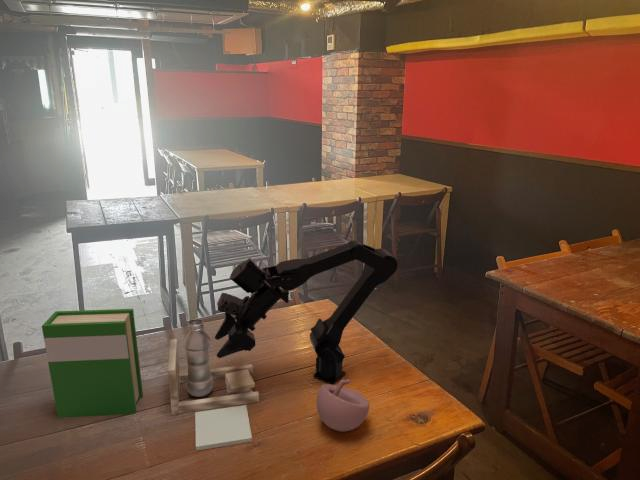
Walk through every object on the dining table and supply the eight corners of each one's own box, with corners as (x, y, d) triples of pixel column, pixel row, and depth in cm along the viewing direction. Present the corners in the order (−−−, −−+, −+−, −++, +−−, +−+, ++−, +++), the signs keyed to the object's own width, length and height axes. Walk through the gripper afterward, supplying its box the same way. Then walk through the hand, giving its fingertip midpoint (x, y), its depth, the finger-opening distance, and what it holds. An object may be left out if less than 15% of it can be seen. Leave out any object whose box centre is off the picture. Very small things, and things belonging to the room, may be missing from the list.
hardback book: (143, 395, 124) (133, 308, 116) (135, 413, 117) (124, 322, 109) (70, 398, 122) (55, 311, 115) (58, 418, 115) (41, 326, 108)
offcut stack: (251, 378, 132) (251, 368, 131) (255, 395, 125) (255, 385, 124) (225, 382, 130) (224, 372, 129) (228, 399, 123) (227, 389, 122)
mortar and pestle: (378, 425, 113) (381, 383, 110) (343, 451, 105) (344, 405, 102) (341, 402, 121) (342, 362, 118) (305, 424, 113) (305, 381, 110)
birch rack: (252, 369, 135) (250, 330, 132) (259, 402, 121) (257, 359, 118) (174, 379, 130) (170, 339, 127) (171, 414, 116) (167, 370, 113)
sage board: (246, 408, 119) (246, 405, 119) (252, 441, 108) (251, 437, 108) (195, 415, 116) (195, 412, 116) (196, 450, 105) (195, 446, 105)
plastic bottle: (202, 382, 129) (197, 313, 123) (219, 392, 125) (215, 321, 119) (182, 393, 125) (175, 322, 119) (198, 403, 120) (193, 330, 114)
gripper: (233, 270, 127) (191, 312, 128) (239, 299, 110) (192, 348, 111) (263, 295, 131) (223, 336, 132) (274, 327, 114) (228, 374, 115)
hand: (216, 347), depth 122 cm, fingers open, 9 cm apart
